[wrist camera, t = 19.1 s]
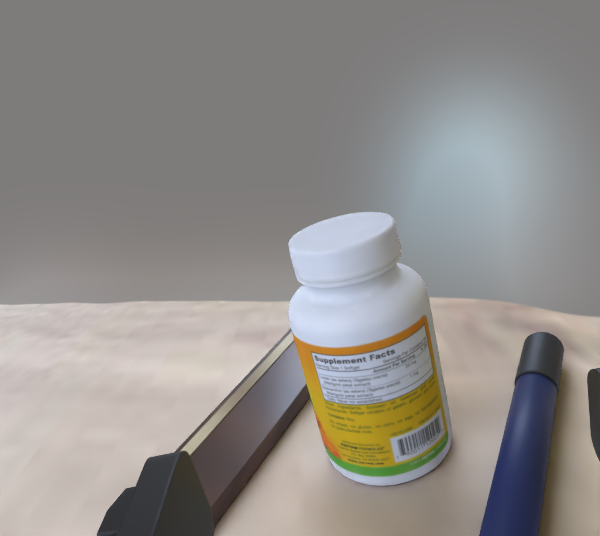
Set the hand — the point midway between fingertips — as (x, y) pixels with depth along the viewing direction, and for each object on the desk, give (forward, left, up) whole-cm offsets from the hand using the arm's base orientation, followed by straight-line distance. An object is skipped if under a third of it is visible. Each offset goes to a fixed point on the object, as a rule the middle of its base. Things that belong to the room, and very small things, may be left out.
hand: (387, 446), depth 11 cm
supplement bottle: (-5, +9, -8) cm, 13 cm away
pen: (+1, +9, -8) cm, 12 cm away
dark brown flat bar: (-12, +10, -8) cm, 17 cm away
